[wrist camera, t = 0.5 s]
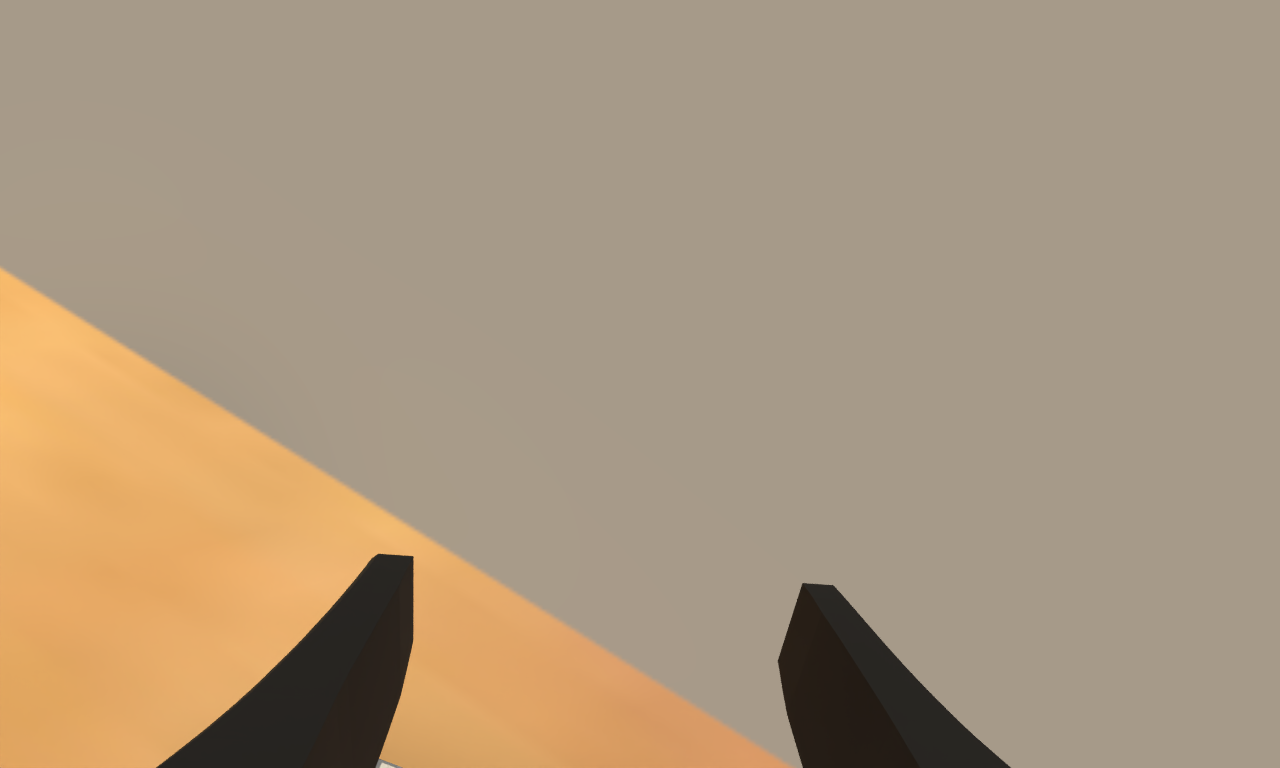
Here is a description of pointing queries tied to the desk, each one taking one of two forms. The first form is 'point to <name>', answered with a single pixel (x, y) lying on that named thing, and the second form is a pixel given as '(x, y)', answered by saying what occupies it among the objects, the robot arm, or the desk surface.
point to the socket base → (385, 766)
